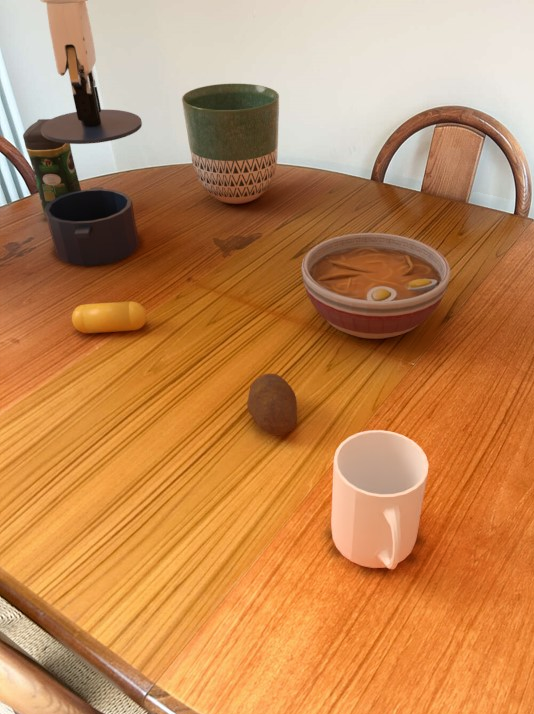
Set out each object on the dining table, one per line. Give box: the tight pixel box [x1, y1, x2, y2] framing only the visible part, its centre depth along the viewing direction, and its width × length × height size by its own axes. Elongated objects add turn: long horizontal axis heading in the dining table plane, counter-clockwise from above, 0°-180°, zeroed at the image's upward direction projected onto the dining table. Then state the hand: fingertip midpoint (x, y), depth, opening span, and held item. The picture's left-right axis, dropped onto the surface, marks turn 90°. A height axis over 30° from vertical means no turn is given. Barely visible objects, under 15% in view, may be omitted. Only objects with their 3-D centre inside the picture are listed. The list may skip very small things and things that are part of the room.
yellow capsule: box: [71, 301, 148, 334], centre depth 104 cm, size 12×5×5 cm, turn 96°
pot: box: [44, 186, 139, 267], centre depth 125 cm, size 16×21×8 cm
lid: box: [41, 80, 143, 145], centre depth 109 cm, size 17×17×8 cm
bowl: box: [301, 232, 452, 340], centre depth 104 cm, size 23×23×10 cm
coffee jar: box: [22, 118, 82, 218], centre depth 134 cm, size 10×8×19 cm
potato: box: [246, 373, 298, 436], centre depth 86 cm, size 7×10×6 cm
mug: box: [330, 429, 430, 570], centre depth 68 cm, size 10×12×12 cm
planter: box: [181, 83, 280, 205], centre depth 139 cm, size 20×20×21 cm
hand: (89, 115), depth 110 cm, fingers closed on lid, 3 cm apart
